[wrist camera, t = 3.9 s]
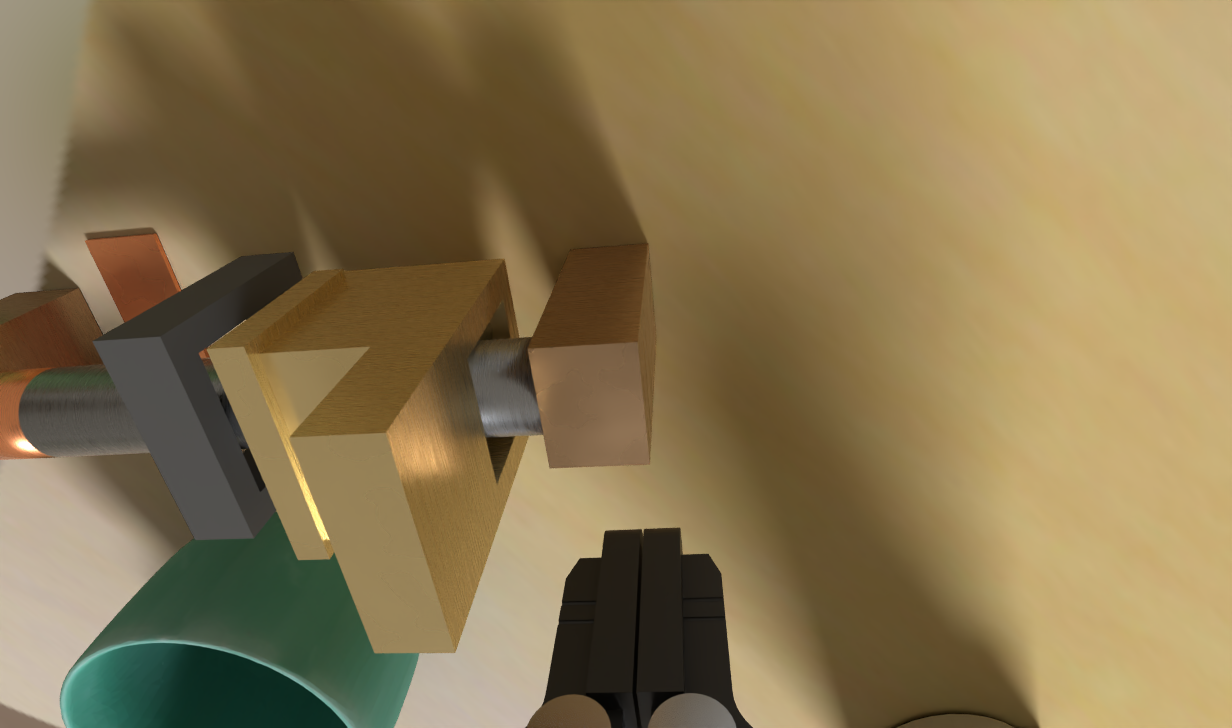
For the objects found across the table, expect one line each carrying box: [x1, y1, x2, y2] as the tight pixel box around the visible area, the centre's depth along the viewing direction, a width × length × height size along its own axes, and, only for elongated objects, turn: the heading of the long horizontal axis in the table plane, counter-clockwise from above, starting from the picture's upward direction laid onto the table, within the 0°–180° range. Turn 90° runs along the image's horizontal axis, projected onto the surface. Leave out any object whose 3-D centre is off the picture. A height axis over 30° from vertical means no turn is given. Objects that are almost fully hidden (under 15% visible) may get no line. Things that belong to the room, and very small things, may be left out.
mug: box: [60, 512, 419, 728], centre depth 32 cm, size 17×13×10 cm
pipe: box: [0, 233, 656, 468], centre depth 24 cm, size 27×8×8 cm, turn 96°
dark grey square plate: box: [92, 252, 302, 540], centre depth 22 cm, size 2×7×7 cm, turn 6°
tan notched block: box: [207, 259, 529, 653], centre depth 19 cm, size 6×7×10 cm
